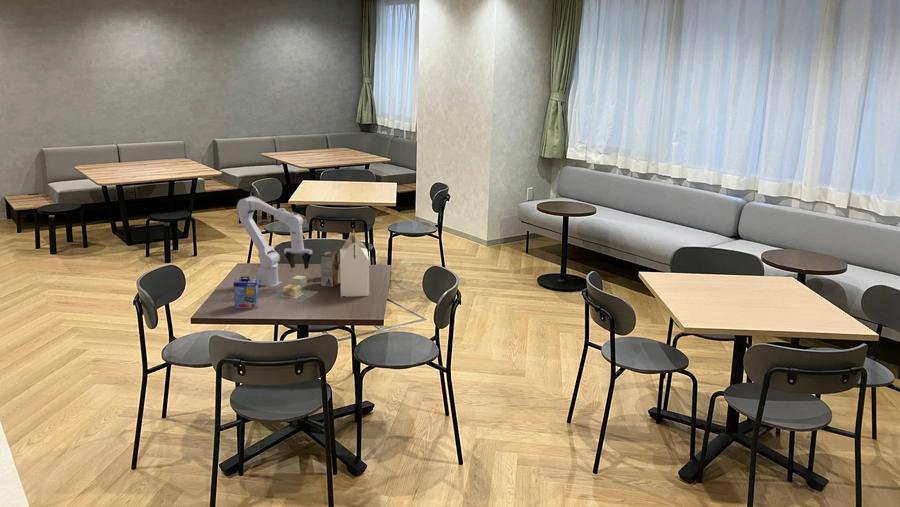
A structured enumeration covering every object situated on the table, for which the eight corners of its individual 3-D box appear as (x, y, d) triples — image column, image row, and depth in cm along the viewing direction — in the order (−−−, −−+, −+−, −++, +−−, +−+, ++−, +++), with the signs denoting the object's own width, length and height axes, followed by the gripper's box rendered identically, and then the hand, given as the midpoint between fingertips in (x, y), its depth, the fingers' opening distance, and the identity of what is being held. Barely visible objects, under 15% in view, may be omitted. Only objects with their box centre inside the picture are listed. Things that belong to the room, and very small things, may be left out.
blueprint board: (265, 299, 340) (265, 297, 340) (285, 288, 357) (285, 287, 357) (300, 304, 335) (300, 302, 335) (318, 292, 352) (318, 291, 352)
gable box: (340, 283, 368) (339, 227, 361) (367, 282, 370) (367, 227, 363) (340, 296, 347) (339, 238, 340) (369, 296, 349) (368, 238, 342)
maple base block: (283, 295, 344) (283, 287, 343) (289, 292, 350) (289, 284, 349) (295, 297, 342) (294, 289, 341) (301, 293, 348) (301, 285, 347)
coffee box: (327, 281, 370) (326, 250, 366) (339, 282, 369) (339, 251, 365) (320, 286, 361) (320, 254, 357) (333, 287, 360) (332, 255, 356)
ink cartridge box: (234, 308, 327) (232, 277, 323) (236, 304, 332) (235, 273, 328) (257, 308, 328) (255, 277, 324) (259, 304, 333) (257, 273, 329)
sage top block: (292, 288, 359) (292, 278, 357) (297, 285, 363) (297, 275, 362) (301, 289, 357) (301, 279, 356) (306, 286, 362) (306, 276, 361)
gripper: (314, 239, 356) (317, 266, 359) (288, 238, 361) (291, 265, 364) (306, 242, 349) (309, 270, 352) (280, 241, 354) (283, 268, 358)
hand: (299, 268), depth 358 cm, fingers open, 7 cm apart
